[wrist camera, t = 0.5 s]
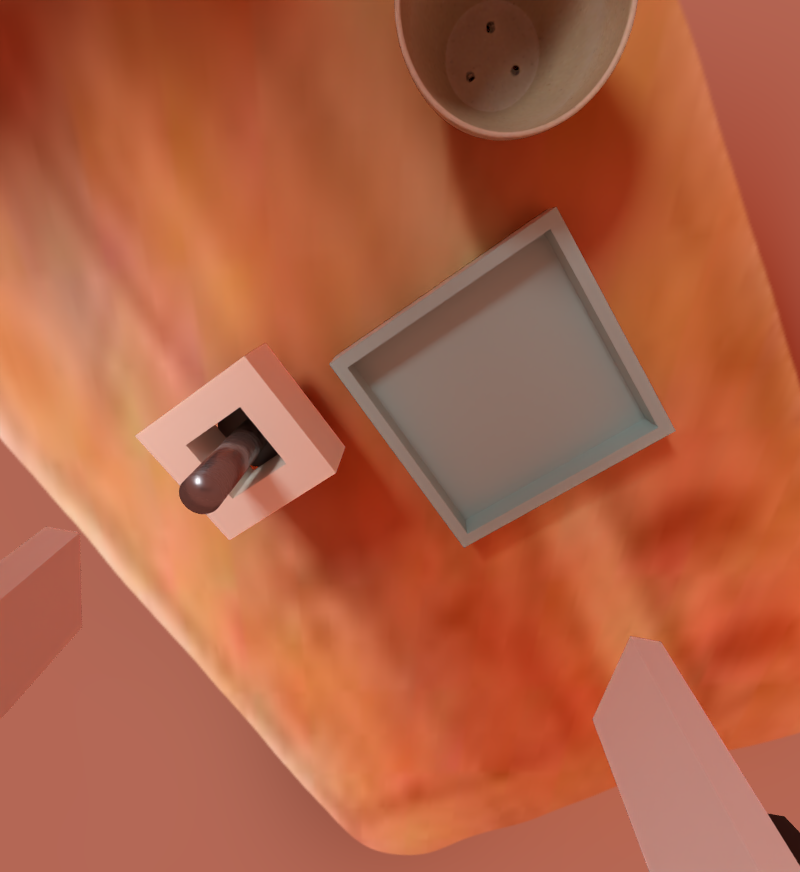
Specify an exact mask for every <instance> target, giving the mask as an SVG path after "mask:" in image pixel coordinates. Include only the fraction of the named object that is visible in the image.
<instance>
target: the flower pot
mask: <svg viewBox="0 0 800 872" xmlns="http://www.w3.org/2000/svg"><path fill="white" fill-rule="evenodd" d="M637 2H638V0H394V9H395V22H396V29H397V35H398V40H399V44H400V48H401V51H402V54H403V57H404V60H405V63H406V66H407V68H408V70H409V73H410V75H411V77H412V79H413V81H414V83H415V85H416V87H417V88H418V90H419V92H420V93H421V95H422V96H423V97H424V99H425V100H426V102H427V103H428V104H429V105H430V106H431V108H432V109H433V110H434V111H435V112H436V113H437V114H438V115H439V116H440V117H442V118H443V119H444V120H445V121H446V122H448V123H449V124H450V125H452V126H454V127H455V128H457V129H458V130H460V131H462V132H465V133H467V134H470V135H472V136H475V137H479V138H483V139H489V140H515V139H522V138H526V137H530V136H533V135H537V134H540V133H542V132H545V131H547V130H549V129H551V128H553V127H555V126H557V125H559V124H561V123H562V122H564V121H566V120H567V119H569V118H570V117H572V116H573V115H574V114H576V113H577V112H578V111H579V110H581V109H582V108H583V107H584V106H585V105H586V104H587V103H588V102H589V101H590V100H591V99H592V98H593V97H594V96H595V95H596V94H597V93H598V91H599V90H600V89H601V88H602V86H603V85H604V84H605V83H606V81H607V79H608V78H609V77H610V75H611V74H612V72H613V71H614V69H615V67H616V65H617V64H618V62H619V60H620V57H621V55H622V53H623V51H624V49H625V46H626V44H627V41H628V39H629V36H630V33H631V30H632V26H633V22H634V18H635V14H636V9H637ZM487 25H488V26H489V28H490V30H489V32H487ZM513 66H517V67H518V68H519V70H514V69H513ZM471 77H474V79H473V80H472V81H470V82H469V79H470V78H471Z"/></svg>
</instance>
